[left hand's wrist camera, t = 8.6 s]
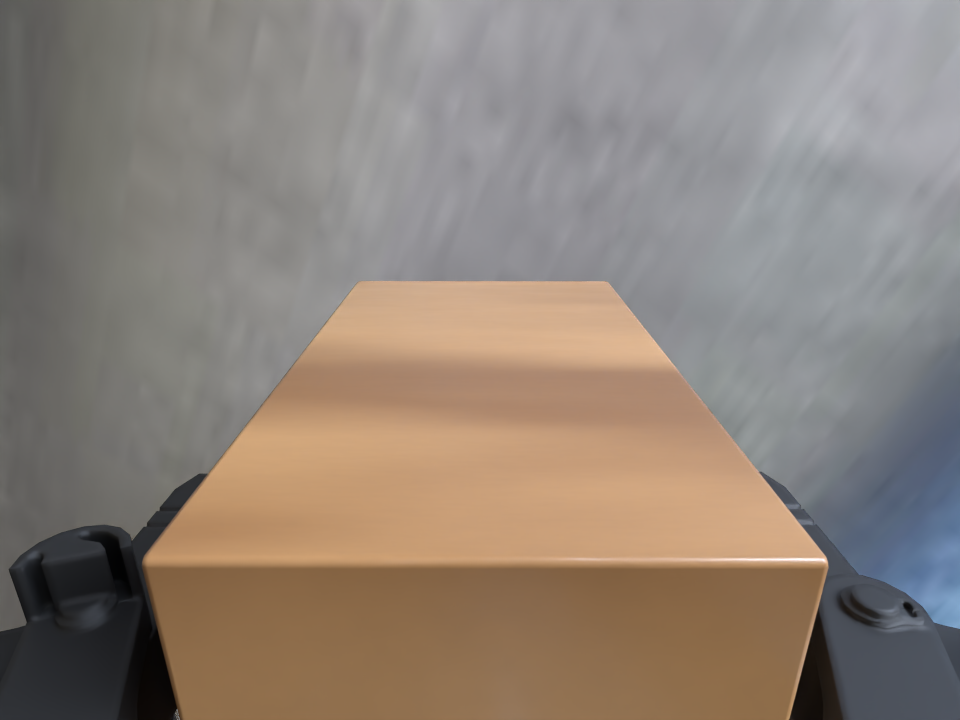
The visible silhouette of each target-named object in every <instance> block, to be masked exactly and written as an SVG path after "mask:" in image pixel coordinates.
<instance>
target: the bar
mask: <svg viewBox="0 0 960 720" xmlns="http://www.w3.org/2000/svg"><path fill="white" fill-rule="evenodd" d="M828 568H829V567H828V561H827V558H826V556H825V555H824V554H823V552H822V551H821V550H820V549H819V547H818V546H817V545H816V544H815V542H814V541H813V540H812V538H811V537H810V536H809V535H808V533H807V532H806V531H805V530H804V528H803V527H802V526H801V525H800V523H799V522H798V521H797V520H796V518H795V517H794V516H793V515H792V513H791V512H790V511H789V510H788V508H787V507H786V506H785V504H784V503H783V502H782V501H781V499H780V498H779V497H778V496H777V494H776V493H775V492H774V491H773V489H772V488H771V487H770V486H769V484H768V483H767V482H766V481H765V479H764V478H763V477H762V476H761V474H760V473H759V472H758V470H757V469H756V468H755V467H754V465H753V464H752V463H751V462H750V460H749V459H748V458H747V457H746V455H745V454H744V453H743V452H742V450H741V449H740V448H739V447H738V445H737V444H736V443H735V442H734V440H733V439H732V438H731V436H730V435H729V434H728V433H727V431H726V430H725V429H724V428H723V426H722V425H721V424H720V423H719V421H718V420H717V419H716V418H715V416H714V415H713V414H712V413H711V411H710V410H709V409H708V408H707V406H706V405H705V404H704V402H703V401H702V400H701V399H700V397H699V396H698V395H697V394H696V392H695V391H694V390H693V389H692V387H691V386H690V385H689V384H688V382H687V381H686V380H685V379H684V377H683V376H682V375H681V374H680V372H679V371H678V370H677V368H676V367H675V366H674V365H673V363H672V362H671V361H670V360H669V358H668V357H667V356H666V355H665V353H664V352H663V351H662V350H661V348H660V347H659V346H658V345H657V343H656V342H655V341H654V340H653V338H652V337H651V336H650V334H649V333H648V332H647V331H646V329H645V328H644V327H643V326H642V324H641V323H640V322H639V321H638V319H637V318H636V317H635V316H634V314H633V313H632V312H631V311H630V309H629V308H628V307H627V306H626V304H625V303H624V302H623V300H622V299H621V298H620V297H619V295H618V294H617V293H616V292H615V290H614V289H613V288H612V287H611V285H610V284H609V283H608V282H606V281H359V282H357V283H356V285H355V286H354V287H353V288H352V290H351V291H350V292H349V294H348V295H347V296H346V297H345V299H344V300H343V301H342V303H341V304H340V305H339V306H338V308H337V309H336V310H335V311H334V313H333V314H332V315H331V317H330V318H329V319H328V320H327V322H326V323H325V324H324V326H323V327H322V328H321V329H320V331H319V332H318V333H317V335H316V336H315V337H314V338H313V340H312V341H311V342H310V344H309V345H308V346H307V347H306V349H305V350H304V351H303V353H302V354H301V355H300V356H299V358H298V359H297V360H296V362H295V363H294V364H293V365H292V367H291V368H290V369H289V370H288V372H287V373H286V374H285V376H284V377H283V378H282V379H281V381H280V382H279V383H278V385H277V386H276V387H275V388H274V390H273V391H272V392H271V394H270V395H269V396H268V397H267V399H266V400H265V401H264V403H263V404H262V405H261V406H260V408H259V409H258V410H257V412H256V413H255V414H254V415H253V417H252V418H251V419H250V421H249V422H248V423H247V424H246V426H245V427H244V428H243V430H242V431H241V432H240V433H239V435H238V436H237V437H236V438H235V440H234V441H233V442H232V444H231V445H230V446H229V447H228V449H227V450H226V451H225V453H224V454H223V455H222V456H221V458H220V459H219V460H218V462H217V463H216V464H215V465H214V467H213V468H212V469H211V471H210V472H209V473H208V474H207V476H206V477H205V478H204V480H203V481H202V482H201V483H200V485H199V486H198V487H197V489H196V490H195V491H194V492H193V494H192V495H191V496H190V497H189V499H188V500H187V501H186V503H185V504H184V505H183V506H182V508H181V509H180V510H179V512H178V513H177V514H176V515H175V517H174V518H173V519H172V521H171V522H170V523H169V524H168V526H167V527H166V528H165V530H164V531H163V532H162V533H161V535H160V536H159V537H158V539H157V540H156V541H155V542H154V544H153V545H152V546H151V548H150V549H149V550H148V551H147V553H146V554H145V555H144V558H143V561H142V569H143V573H144V577H145V581H146V585H147V589H148V593H149V597H150V601H151V605H152V609H153V613H154V617H155V621H156V625H157V629H158V633H159V637H160V641H161V645H162V649H163V653H164V657H165V661H166V665H167V669H168V673H169V677H170V681H171V685H172V689H173V693H174V697H175V701H176V705H177V709H178V713H179V717H180V720H789V718H790V715H791V711H792V707H793V703H794V699H795V695H796V691H797V687H798V684H799V680H800V676H801V672H802V668H803V664H804V660H805V657H806V653H807V649H808V645H809V641H810V637H811V633H812V629H813V626H814V622H815V618H816V614H817V610H818V606H819V602H820V599H821V595H822V591H823V587H824V583H825V579H826V575H827V571H828Z"/></svg>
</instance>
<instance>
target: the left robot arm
mask: <svg viewBox="0 0 960 720" xmlns="http://www.w3.org/2000/svg"><path fill="white" fill-rule="evenodd" d="M759 473H760V474H761V476H762V477H763V478H764V479H765V481H766V482H767V483H768V484H769V486H770V487H771V488H772V489H773V491H774V492H775V493H776V494H777V496H778V497H779V498H780V499H781V501H782V502H783V503H784V504H785V506H786V507H787V508H788V510H789V511H790V512H791V513H792V515H793V516H794V517H795V518H796V520H797V521H798V522H799V523H800V525H801V526H802V527H803V528H804V530H805V531H806V532H807V533H808V535H809V536H810V537H811V538H812V540H813V541H814V542H815V544H816V545H817V546H818V547H819V549H820V550H821V551H822V552H823V554H824V555H825V556H826V558H827V561H828V567H829V568H828V571H827V575H826V579H825V583H824V587H823V591H822V595H821V599H820V602H819V606H818V610H817V614H816V618H815V622H814V626H813V629H812V633H811V637H810V641H809V645H808V649H807V653H806V657H805V660H804V664H803V668H802V672H801V676H800V680H799V684H798V687H797V691H796V695H795V699H794V703H793V707H792V711H791V715H790V718H789V720H960V629H957V628H953V627H948V626H944V625H940V624H937V623H934V622H933V621H932V619H931V618H930V617H929V615H928V614H927V612H926V611H925V610H924V608H923V607H922V606H921V605H920V604H918V603H917V602H916V601H915V600H913V599H912V598H911V597H910V596H908V595H907V594H906V593H904V592H902V591H900V590H899V589H897V588H895V587H893V586H891V585H889V584H887V583H885V582H882V581H879V580H876V579H873V578H869V577H866V576H863V575H858V573H857V572H856V571H855V570H854V569H853V567H852V566H851V565H850V564H849V563H848V561H847V560H846V559H845V558H844V557H843V555H842V554H841V553H840V552H839V551H838V550H837V548H836V547H835V546H834V545H833V544H832V542H831V541H830V540H829V539H828V538H827V536H826V535H825V534H824V533H823V532H822V530H821V529H820V528H819V527H818V526H817V525H814V523H813V520H812V519H811V517H810V516H809V515H808V514H807V513H806V511H805V510H804V509H801V505H800V504H799V503H798V502H797V501H796V500H795V498H794V497H793V496H792V495H791V494H790V492H789V491H788V490H787V489H786V488H785V487H784V486H782V485H781V484H779V483H778V482H776V481H775V480H773V479H771V478H770V477H768V476H767V475H765V474H764V473H762V472H759ZM206 476H207V474H198V475H197V476H195V477H193V478H192V479H190V480H189V481H187V482H186V483H184V484H183V485H181V486H180V487H178V488H176V489H175V490H174V491H173V492H172V494H171V495H170V496H169V497H168V498H167V500H166V501H165V502H164V503H163V504H162V506H161V507H160V511H157V512H156V513H155V514H154V515H153V516H152V518H151V519H150V520H149V521H148V522H147V527H143V528H142V530H141V531H140V532H139V533H138V534H137V536H136V537H135V538H134V539H133V540H132V541H131V537H130V535H129V534H128V533H127V532H125V531H124V530H123V529H122V528H120V527H114V526H109V525H96V526H84V527H80V528H77V529H73V530H69V531H66V532H62V533H59V534H57V535H55V536H53V537H51V538H48V539H46V540H44V541H42V542H39V543H38V544H36V545H35V546H34V547H32V548H31V549H29V550H28V551H26V552H25V553H23V554H22V555H21V556H20V557H19V558H18V559H17V560H16V561H15V563H14V564H13V565H12V566H11V567H10V569H9V572H10V575H11V578H12V580H13V583H14V586H15V589H16V592H17V595H18V598H19V601H20V603H21V606H22V609H23V612H24V615H25V618H26V621H27V624H26V626H22V627H19V628H15V629H11V630H6V631H2V632H0V720H176V716H175V711H176V709H177V705H176V701H175V697H174V693H173V689H172V685H171V681H170V677H169V673H168V669H167V665H166V661H165V657H164V653H163V649H162V645H161V641H160V637H159V633H158V629H157V625H156V621H155V617H154V613H153V609H152V605H151V601H150V597H149V593H148V589H147V585H146V581H145V577H144V573H143V569H142V561H143V558H144V555H145V554H146V553H147V551H148V550H149V549H150V548H151V546H152V545H153V544H154V542H155V541H156V540H157V539H158V537H159V536H160V535H161V533H162V532H163V531H164V530H165V528H166V527H167V526H168V524H169V523H170V522H171V521H172V519H173V518H174V517H175V515H176V514H177V513H178V512H179V510H180V509H181V508H182V506H183V505H184V504H185V503H186V501H187V500H188V499H189V497H190V496H191V495H192V494H193V492H194V491H195V490H196V489H197V487H198V486H199V485H200V483H201V482H202V481H203V480H204V478H205V477H206Z"/></svg>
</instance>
